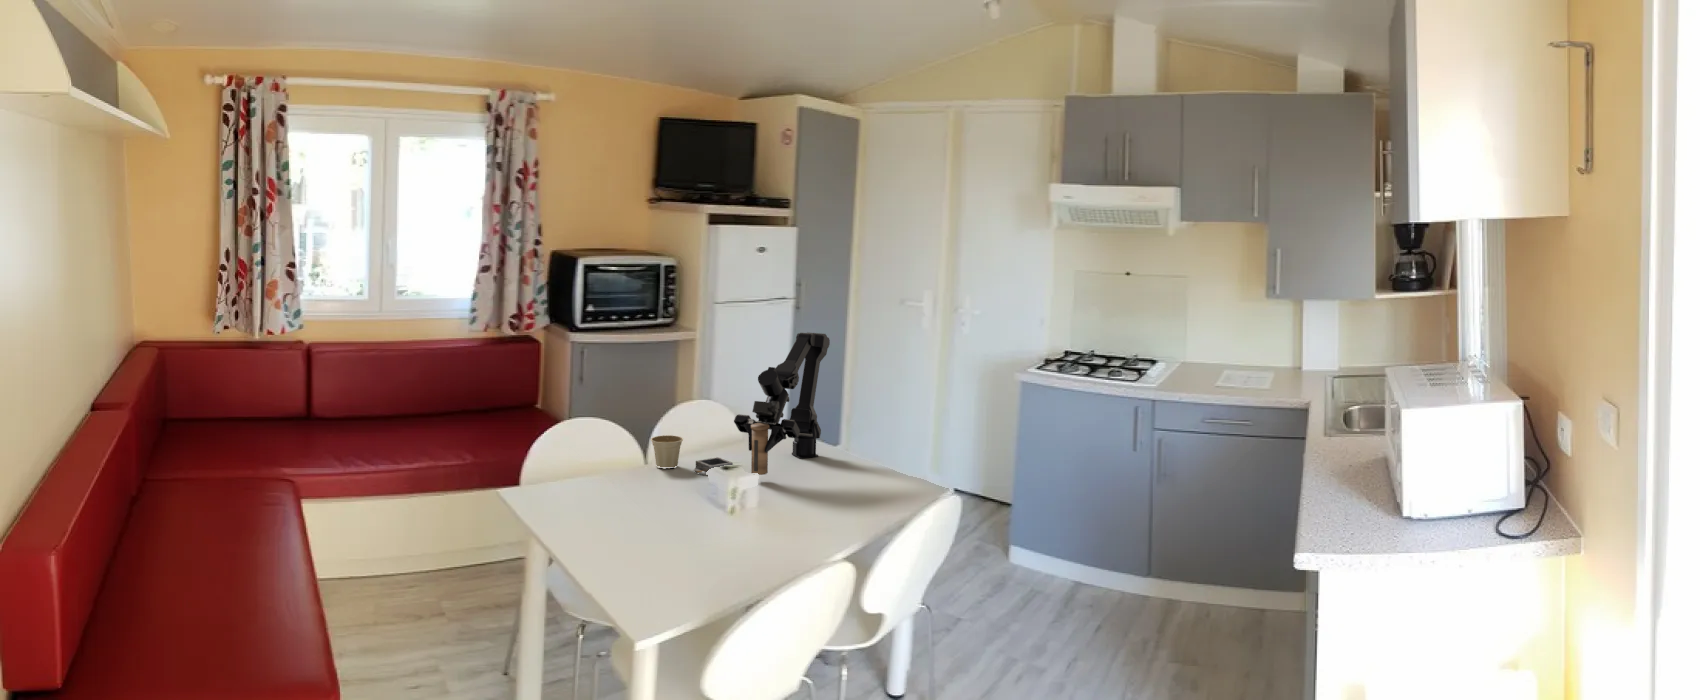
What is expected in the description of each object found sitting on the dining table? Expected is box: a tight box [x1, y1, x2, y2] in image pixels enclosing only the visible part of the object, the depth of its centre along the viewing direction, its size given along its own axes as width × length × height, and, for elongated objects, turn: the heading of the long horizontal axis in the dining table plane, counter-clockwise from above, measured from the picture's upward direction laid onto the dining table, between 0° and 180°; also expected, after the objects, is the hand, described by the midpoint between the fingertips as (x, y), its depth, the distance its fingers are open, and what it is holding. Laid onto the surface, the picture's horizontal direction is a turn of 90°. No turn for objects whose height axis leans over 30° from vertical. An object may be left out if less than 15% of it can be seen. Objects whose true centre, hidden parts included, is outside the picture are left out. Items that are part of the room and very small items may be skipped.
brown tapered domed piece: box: [750, 423, 770, 476], centre depth 291 cm, size 5×5×14 cm
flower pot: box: [650, 434, 684, 467], centre depth 304 cm, size 9×9×9 cm
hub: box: [693, 456, 734, 476], centre depth 302 cm, size 12×12×3 cm
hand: (757, 451), depth 290 cm, fingers closed on brown tapered domed piece, 5 cm apart
